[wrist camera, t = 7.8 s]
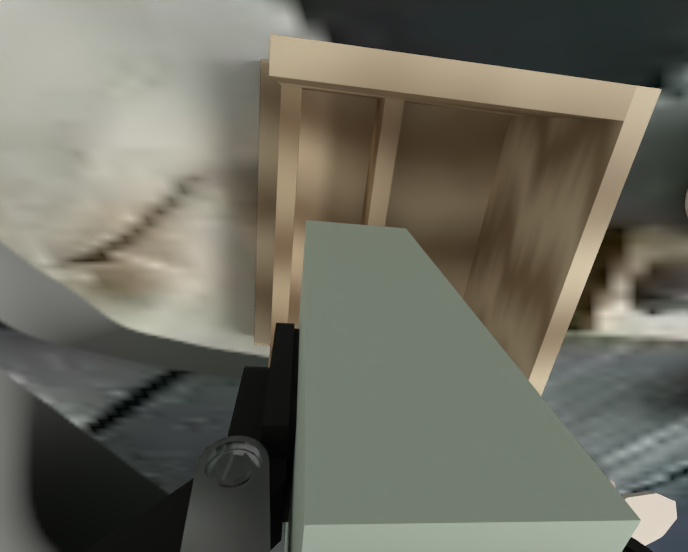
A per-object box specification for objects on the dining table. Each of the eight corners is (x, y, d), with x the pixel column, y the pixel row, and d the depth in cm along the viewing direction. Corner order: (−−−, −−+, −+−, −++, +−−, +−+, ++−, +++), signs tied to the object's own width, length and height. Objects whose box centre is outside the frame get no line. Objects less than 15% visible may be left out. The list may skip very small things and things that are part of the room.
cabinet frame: (262, 61, 21) (229, 28, 12) (523, 95, 23) (661, 89, 14) (256, 337, 29) (231, 445, 19) (456, 346, 30) (520, 449, 21)
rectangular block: (305, 219, 11) (305, 525, 3) (406, 228, 12) (642, 521, 3) (290, 428, 14) (270, 853, 6) (369, 429, 15) (447, 832, 7)
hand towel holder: (434, 572, 36) (636, 453, 31) (422, 525, 40) (599, 414, 35) (527, 635, 42) (707, 542, 37) (508, 588, 46) (669, 499, 41)
